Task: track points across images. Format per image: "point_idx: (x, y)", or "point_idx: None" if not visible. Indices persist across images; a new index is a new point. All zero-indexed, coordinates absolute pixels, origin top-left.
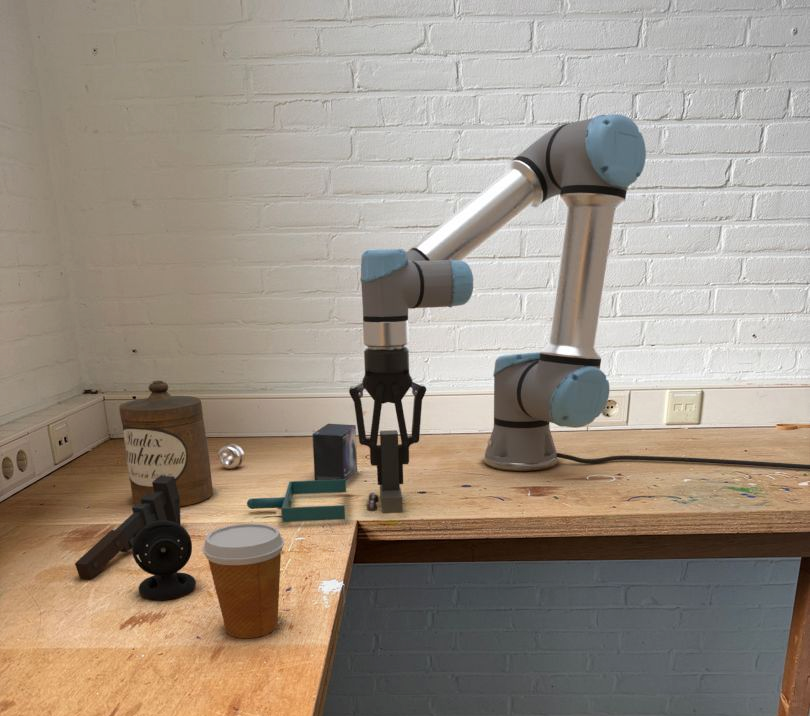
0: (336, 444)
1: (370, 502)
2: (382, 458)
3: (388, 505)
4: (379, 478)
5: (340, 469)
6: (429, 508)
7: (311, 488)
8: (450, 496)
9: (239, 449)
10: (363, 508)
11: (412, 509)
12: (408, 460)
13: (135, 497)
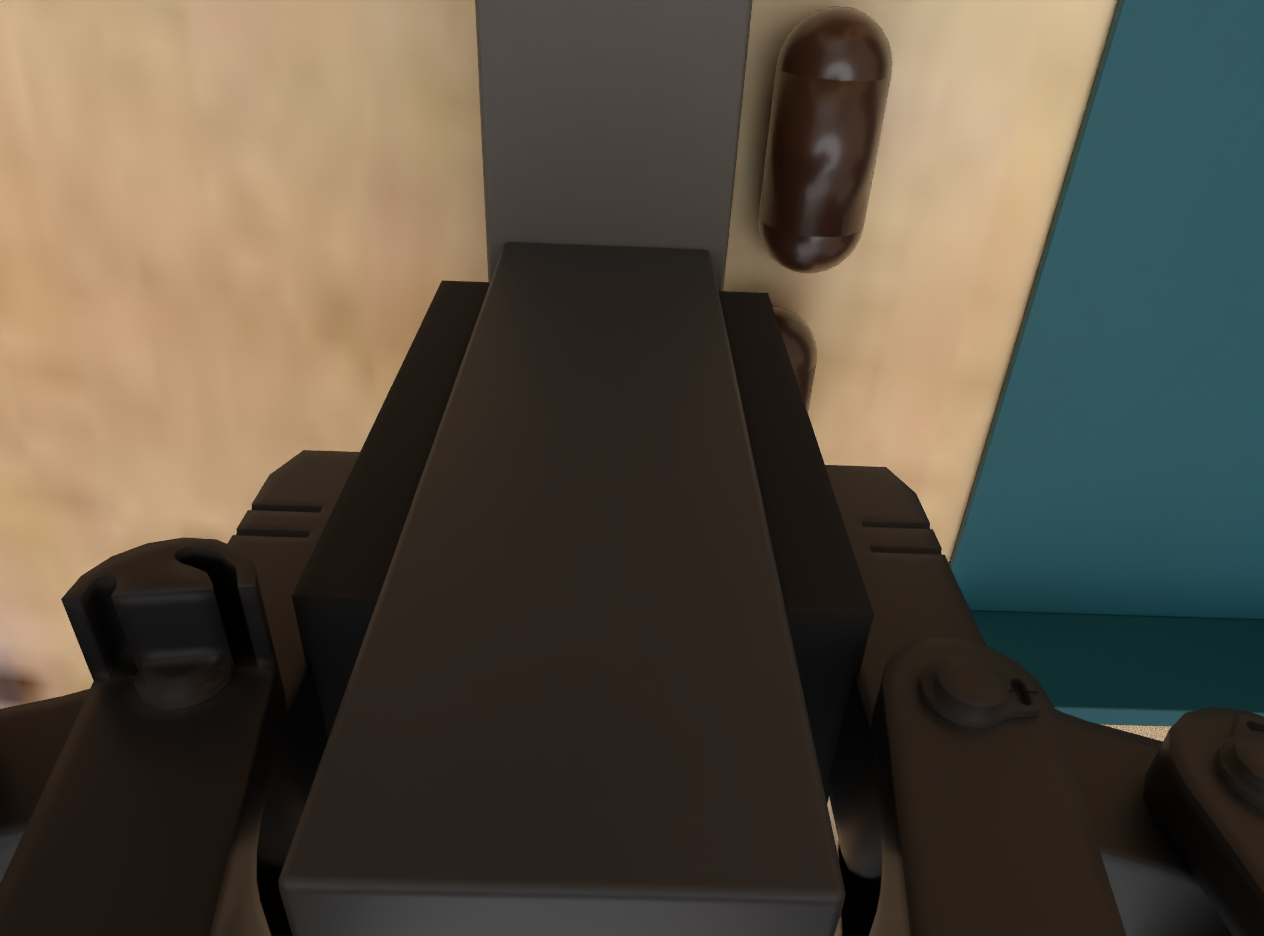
0: None
1: (843, 165)
2: (734, 462)
3: None
4: (755, 325)
5: None
6: (229, 164)
7: (1246, 664)
8: (80, 478)
9: None
10: (868, 278)
11: (400, 162)
12: (275, 486)
13: None
